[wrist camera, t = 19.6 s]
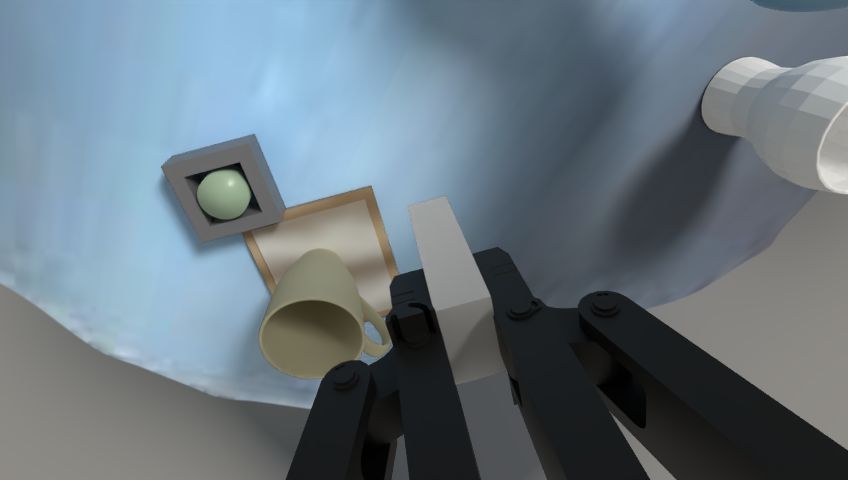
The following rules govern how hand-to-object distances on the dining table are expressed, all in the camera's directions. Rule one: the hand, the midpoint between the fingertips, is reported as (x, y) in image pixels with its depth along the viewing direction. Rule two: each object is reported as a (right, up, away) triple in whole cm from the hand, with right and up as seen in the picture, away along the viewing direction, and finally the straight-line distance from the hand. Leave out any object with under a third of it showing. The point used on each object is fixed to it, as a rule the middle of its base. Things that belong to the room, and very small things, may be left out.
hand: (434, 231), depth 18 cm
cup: (+32, +15, +31) cm, 47 cm away
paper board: (-11, -3, +34) cm, 36 cm away
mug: (-11, -3, +33) cm, 35 cm away
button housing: (-19, +5, +28) cm, 34 cm away
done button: (-19, +5, +27) cm, 34 cm away
